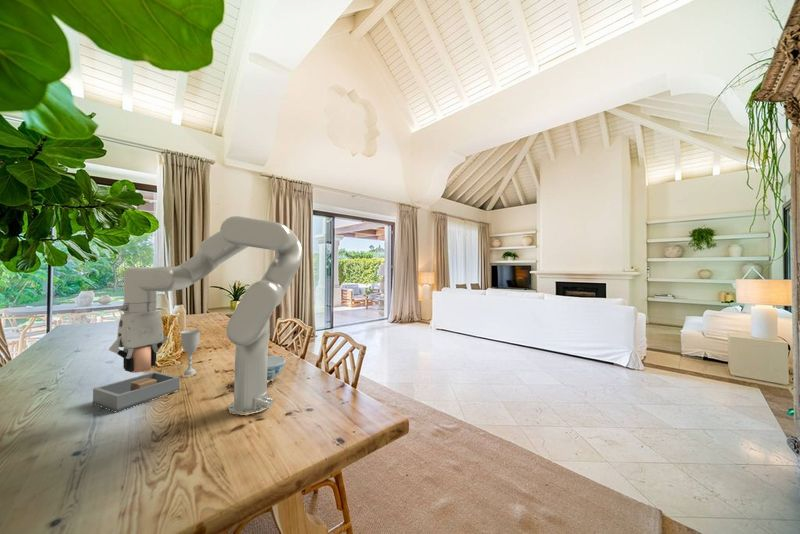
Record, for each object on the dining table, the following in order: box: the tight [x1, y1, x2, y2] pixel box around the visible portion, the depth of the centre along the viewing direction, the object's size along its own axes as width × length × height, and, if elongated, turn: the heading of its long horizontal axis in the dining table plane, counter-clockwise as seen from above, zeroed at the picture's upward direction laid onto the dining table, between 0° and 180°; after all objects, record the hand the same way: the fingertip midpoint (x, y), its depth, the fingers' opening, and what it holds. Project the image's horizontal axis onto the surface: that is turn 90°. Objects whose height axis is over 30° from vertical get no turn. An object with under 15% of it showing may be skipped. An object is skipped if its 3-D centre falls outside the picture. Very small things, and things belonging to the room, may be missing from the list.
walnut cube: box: [130, 378, 157, 391], centre depth 104 cm, size 5×5×5 cm
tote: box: [92, 371, 180, 413], centre depth 105 cm, size 14×18×5 cm
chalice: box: [179, 329, 202, 376], centre depth 126 cm, size 7×7×18 cm
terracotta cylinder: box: [130, 345, 152, 374], centre depth 93 cm, size 5×5×7 cm
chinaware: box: [267, 355, 286, 380], centre depth 122 cm, size 15×15×8 cm
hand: (140, 367), depth 93 cm, fingers closed on terracotta cylinder, 4 cm apart
